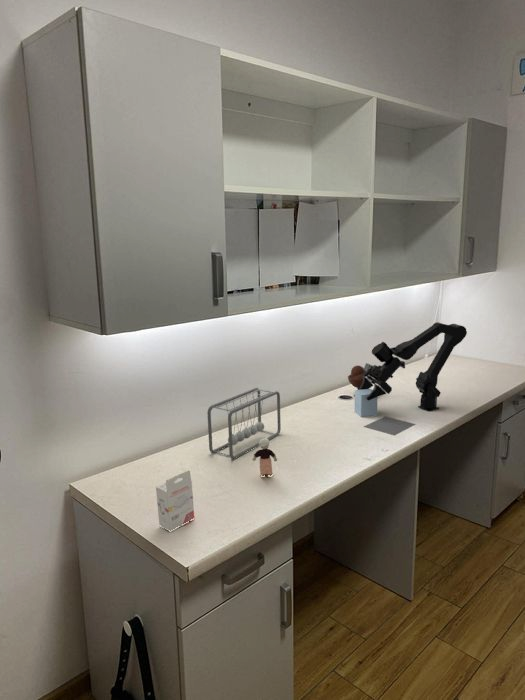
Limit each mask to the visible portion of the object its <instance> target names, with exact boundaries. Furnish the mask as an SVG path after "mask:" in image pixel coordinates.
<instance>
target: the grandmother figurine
mask: <svg viewBox="0 0 525 700" xmlns="http://www.w3.org/2000/svg"><path fill="white" fill-rule="evenodd" d="M267 438H268V437H263V438H261V439H260V440H259V442H258V443H259V446H258V447H260V448H261V449H258V450H257V451H255V453H254V454H253V458H252V461H253V462H255V461H256V460H257V458H259V472H260V474H261V475H262V476H264V475H265V474H266V475H267V476H268V475H270V476H271V475H272V474H273V473H274V472H273V466H272V465H273V464H272V459H273V461H274V462H277V461H278V458H277V456H276V454H275V452H274V451H272V450H271V449H269V446H270V440H268V439H267ZM271 457H272V458H271ZM260 474H259V475H260Z"/></svg>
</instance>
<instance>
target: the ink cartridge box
mask: <svg viewBox="0 0 525 700" xmlns="http://www.w3.org/2000/svg"><path fill="white" fill-rule="evenodd" d="M191 475H192V474H191V470H189V469H188V470H186V471H184V472H182V473H180V474H177V475H175V476H173V477H171V478H169V479H166V481H165V482H164V483H162V484H160V485H157V486H155V490H156V491H155V492H156V502H157V503H156V504H157V513H158V514H157V515H158V525H161V526H162V527H164V528H166V529H168V530H170V531H171V530H173V529H175V528H176V527H178V526H181V525H182V524H184V523H186V522H188V521H190V520H191V519H193V518H194V519H195V511H194V510H195V508H194V496H193V494H194V492H193V481H192V476H191Z"/></svg>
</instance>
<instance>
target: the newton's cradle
mask: <svg viewBox="0 0 525 700" xmlns="http://www.w3.org/2000/svg"><path fill="white" fill-rule="evenodd" d="M261 391H262V392H266V394H261ZM255 394H256V395H257V397H254V395H255ZM250 395H252V398H253V399H251V400H249V399H248V397H249V398H251V396H250ZM275 395H276V403H277V404H276V410H277V412H276V413H277V431H276V433H274V432H270V431H266V430H264V429H265V424H264V423H263V422H262V411H263V406H262V403H263V401H265V400H266V399H269V398H271V397H273V396H275ZM245 397H246V399H247V400H246V399H243V398H245ZM242 399H243V400H244V401H246V402H244V403H242V402H241V400H242ZM237 400H239V401H237ZM236 401H237V403H239V404H240V405H235V403H236ZM231 403H233V405H231V406H233V407H232V408H230V409H228V408H222V407H223V406H226V407H228V406H229V404H231ZM256 404H257V405H256ZM234 405H235V406H234ZM253 405H254V407H255V408H254V409H255V410H254V411H255V414H253V419H255V417H257V422H255V421H253V422H252V421H250V423H251V425H249V422H247V423H246V422H245V421H243V420H245V418H244V409H246V408H248V416H247V419H250V420H252V418H251V416H250V415H251V412H250V410H251V409H250V408H251V406H253ZM213 409H217V410H223V411H225V412H226V411H227V412H228V413H227V425H228V438H227V443H224V444H223V445H221V446H219V447H217V448H215V449H213V437H212V436H213V435H212V433H213V431H212V417H211V416H212V410H213ZM239 411H241V413H242V417H241V418H242V420H241V422H240V423H241V424H240V426H242V423H244V425H246V426H244V428H243V429H242V428H239V427H237V430H238V431H237V432H236V433H233V431H235V429H236V426H239V424H238V422H237V421H238V418H237V416H235V421H234V423H236V425H234V427H233V425H232V421H233V420H232V416H233V414H235V415H237V413H238V412H239ZM206 414H207V431H208V450H209V452H210V453H211V454H215V453H214V452H217V451H218V450H220V449H222V448H224V447H226V446H227V447H228V448H229V449H228V450H229V454H226V453H223V452H221V450H220V451H218V452H217V454H220V453H221V454H220V455H223V454H224V455H223V456H227V457H229V458H230V459H232V460H235V459H234V458H236V457H238V456H240V455H241V456H243V455H245V454H246V453H245V452H247V451H249V450H250V451H252V450H254V449H256V448H257V446H258V445H259V442H257V443H255V444H253V445H251V446H249V447H247V448H245V449H244V450H242V451H240V452H238V453H237V454H235V455H233V453H234V452H233V450H234V449H233V446H236V445H237V444H238V443H241V442H243V441H245V439H249V438H251V436H255V435H256V434H258V432H264V433H266V432H267V434H271V435H270V436H268V437H266V438H267V439H268V440H269V441H270V440H272V439H274V438H276V437H278V436H277V435H280V434H281V395H280V392H279V391H278V390H276V391H275V390H274V391H270V390H267V389H266V390H265V389H261V388H259V387H254V388H251V389H249V390H247V391H244V392H242V393H239V394H237V395H234V396H232V397H229V398H226V399H224V400H221V401H219V402H217V403H213V404H211V405H210V406H209V407H208V409H207V413H206ZM256 414H257V415H256ZM255 415H256V416H255ZM254 422H255V423H254ZM232 428H233V429H232ZM275 436H276V437H275ZM273 437H274V438H273ZM228 445H229V446H228ZM227 447H226V448H227ZM255 447H256V448H255ZM258 447H259V446H258ZM253 448H254V449H253ZM224 449H225V448H224ZM251 449H252V450H251ZM222 450H223V449H222ZM250 451H249V452H250ZM244 453H245V454H244ZM247 453H248V452H247ZM242 454H243V455H242ZM241 456H240V457H241ZM238 458H239V457H238ZM236 459H237V458H236Z"/></svg>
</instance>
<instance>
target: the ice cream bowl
mask: <svg viewBox="0 0 525 700" xmlns="http://www.w3.org/2000/svg"><path fill="white" fill-rule="evenodd" d="M363 369H364V367H363V366H361V365H354V366H353V367H352V368H351V371H350V374H349V375H348V376H347V379H348V382H349V383H350V384H351V385H352V386H353V387H354V388H356V390H359V389H360V387H361V385H362V382H363V377H362V373H363V372H364V371H365V370H363ZM353 397H354V398H355V393H354V394H353Z"/></svg>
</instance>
